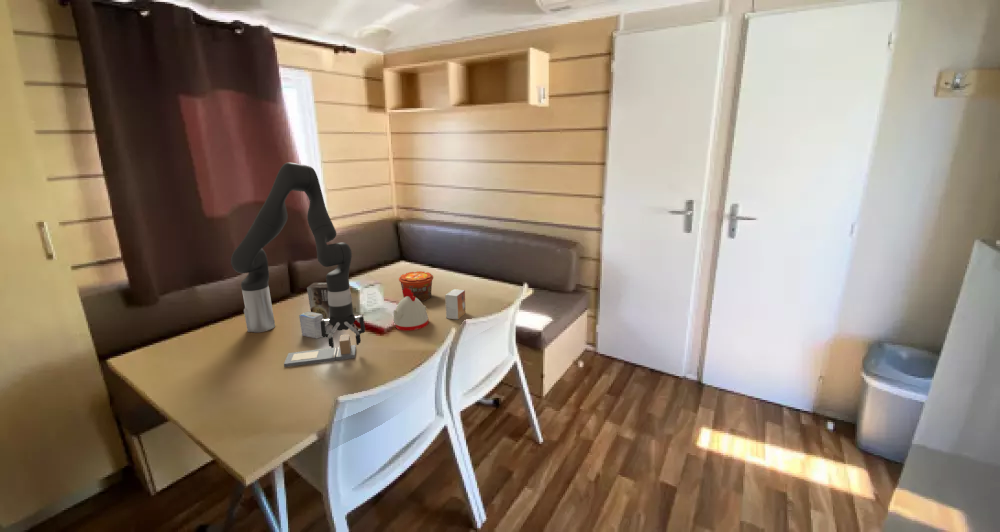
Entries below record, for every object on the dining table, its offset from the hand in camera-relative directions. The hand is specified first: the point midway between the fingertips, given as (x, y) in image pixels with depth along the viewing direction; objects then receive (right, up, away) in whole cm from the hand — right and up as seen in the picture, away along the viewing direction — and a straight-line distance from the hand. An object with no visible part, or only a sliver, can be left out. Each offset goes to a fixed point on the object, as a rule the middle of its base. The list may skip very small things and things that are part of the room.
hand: (345, 345), depth 153 cm
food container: (+15, +13, +56) cm, 60 cm away
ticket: (-11, -4, -2) cm, 12 cm away
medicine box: (-18, +1, +16) cm, 24 cm away
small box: (+35, +6, +34) cm, 49 cm away
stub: (0, -3, +1) cm, 3 cm away
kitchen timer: (+18, +4, +26) cm, 32 cm away
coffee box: (-18, +4, +29) cm, 35 cm away
